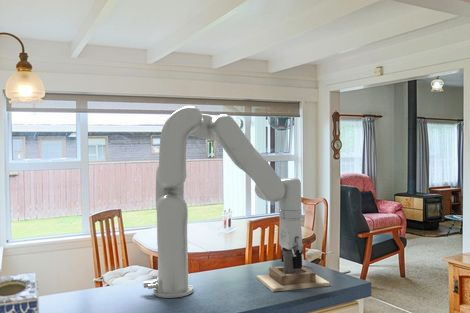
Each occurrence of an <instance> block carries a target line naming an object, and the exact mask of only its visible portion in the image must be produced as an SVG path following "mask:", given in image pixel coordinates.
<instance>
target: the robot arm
mask: <svg viewBox="0 0 470 313" xmlns="http://www.w3.org/2000/svg"><path fill="white" fill-rule="evenodd" d="M189 137H196V138H199V139H206V140H211V141H217V142H218V144H219V145H220V146H221V148H223V151H224V152H225V153H226V154H227V156H228V157H229V158H230V159H231V160H230V161H232V163H233V164H234V165H235V166H236V167H237V168H238V169H240V170H241V171H243V172H244V173H245V174H247V175H248V176H249V178H250V179H252V181H253V183H255V186H254V191H255V195H256V196H257V197H258V198H259V199H261V200H263V201H267V202H271V203H277V202H278V208H279V210H278V216H279V225H278V227H279V228H278V245H279V246H280V251H281V252H280V253H281V254H280V256H281V262H282V263H284V259H283V255H282V251H283V250H284V249H287V250H291V249H292V253H293V256H292V264H293V269H298V268H302V266H303V262H302V254H303V252H304V250H303V249H304V244H303V233H302V232H303V231H302V222H301V220H303V218H302V216H303V215H302V182H301V180H300V179H299V178H295V177H294V178H290V177H288V178H287V177H286V178H280V177H279V175H278V174H277V172H276V170H275V169H274V168H273V167H272V165H271V164H270V163H269V162H268V161H267V160H266V159H265V158H264V157H263V155H261V153H260V152H259V151H258V150H257V149H256V148H255V147H254V145H253V144H252V143H251V141H250V140H249V138H248V137H247V136H246V134H245V133H244V131H243V130H242V128H241V127H240V126H239V124H238V123H237V121H236V120H235V119H234V118H233V117H232V116H231V115H230V114H227V113H226V114H225V113H223V114H219V115H217V116H216V115H211V114H206V113H202V112H201V110H200V109H199V108H197V107H195V106H193V105H186V106H184V107H182V108H181V107H180V109H178V110H176V111H174V112H173V113H172V114H171V115H170V116H169V117H168V118H167V119H166V121H165V122H164V124H163V126H162V129H161V132H160V137H159V138H160V139H159V152H158V155H159V156H158V166H157V169H156V171H155V172H156V173H155V209H156V233H157V234H156V235H157V236H156V240H157V242H156V243H157V244H156V245H157V277H156V279H153V280H152V281H147V280H146V281H143V282H142V283H143V285H142V286H143V289H148V290H152V289H153V295H154V296H155V297H157V298H165V299H175V298H176V299H177V298H182V297H187V296H189V295H190V294H192V293H193V292H194V287H193V285H191V284H189V261H188V260H189V258H188V257H189V256H188V255H189V254H188V252H189V251H188V248H189V247H188V214H189V210H188V205H187V202H186V200H185V199H184V198H185V197H184V196H185V192H184V190H185V189H184V188H185V187H184V186H185V182H186V179H187V164H186V163H187V156H186V155H187V142H188V138H189ZM295 250H297V251H296V252H295Z"/></svg>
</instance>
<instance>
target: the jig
mask: <svg viewBox="0 0 470 313" xmlns="http://www.w3.org/2000/svg"><path fill="white" fill-rule="evenodd" d="M298 271H299V273H292V274H284V273H283V272H284V265H283V266H282V265H281V266H273V267H272V266H271V267H268V274H261V275H260V274H259V275H258V274H257V275H256V279H257V280H258V281H259V282H260V283H261V284H262V285H263V286H264V287H266V288H267V289H269V290H270V291H271V292H281V291H282V292H283V291H291V290H301V289H309V288H320V287H328V286H330V285H331V284H330V283H331V282H330V281H328V280H326V279H325V278H322V277H321V276H319V275H317V274H316V272H314V271H313V270H311V269H310V268H308V267H306V266H304V265H302V268H298Z"/></svg>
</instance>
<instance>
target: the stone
mask: <svg viewBox="0 0 470 313" xmlns="http://www.w3.org/2000/svg"><path fill="white" fill-rule="evenodd" d="M296 251H297V250H295V252H296ZM282 255H283V259H284V262H283V266H284V272H283V273H284V274H292V273H299V271H298V269H293V264H292V256H293V253H292V249H291V250H287V249H284V250H283V251H282Z"/></svg>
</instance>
